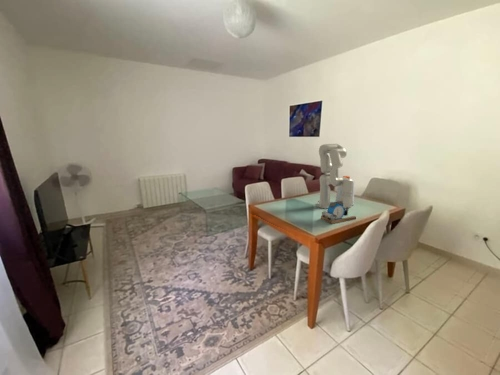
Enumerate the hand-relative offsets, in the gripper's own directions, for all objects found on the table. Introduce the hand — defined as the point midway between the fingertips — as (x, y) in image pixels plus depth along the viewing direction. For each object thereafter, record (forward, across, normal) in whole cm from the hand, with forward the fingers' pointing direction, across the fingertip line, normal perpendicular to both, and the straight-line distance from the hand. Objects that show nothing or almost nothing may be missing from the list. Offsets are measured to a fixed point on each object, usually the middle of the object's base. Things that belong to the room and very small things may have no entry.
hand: (345, 215), depth 186 cm
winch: (+3, +18, 0) cm, 18 cm away
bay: (+3, +5, -1) cm, 6 cm away
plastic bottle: (+2, -30, -30) cm, 42 cm away
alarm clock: (+3, +9, -1) cm, 10 cm away
